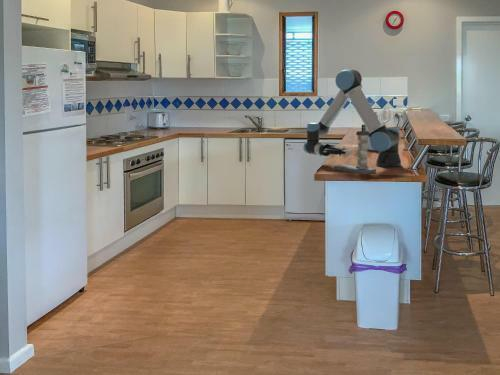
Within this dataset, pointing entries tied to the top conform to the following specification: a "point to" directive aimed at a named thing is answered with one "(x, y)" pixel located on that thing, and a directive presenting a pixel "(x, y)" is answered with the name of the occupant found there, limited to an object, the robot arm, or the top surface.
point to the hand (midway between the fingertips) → (350, 153)
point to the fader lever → (362, 149)
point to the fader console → (354, 169)
